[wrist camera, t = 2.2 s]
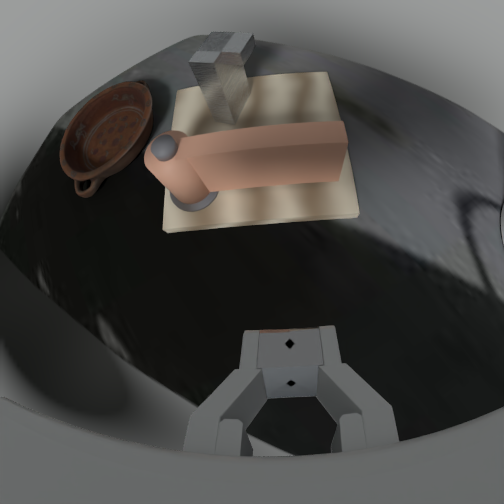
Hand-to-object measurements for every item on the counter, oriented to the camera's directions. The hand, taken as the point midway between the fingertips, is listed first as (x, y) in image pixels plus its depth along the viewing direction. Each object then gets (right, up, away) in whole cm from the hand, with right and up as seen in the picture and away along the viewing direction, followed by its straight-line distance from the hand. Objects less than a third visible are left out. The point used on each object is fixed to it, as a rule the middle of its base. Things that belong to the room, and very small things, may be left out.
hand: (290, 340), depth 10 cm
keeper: (-3, +23, +27) cm, 35 cm away
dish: (-23, +21, +32) cm, 45 cm away
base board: (-1, +17, +27) cm, 32 cm away
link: (-1, +12, +24) cm, 26 cm away
